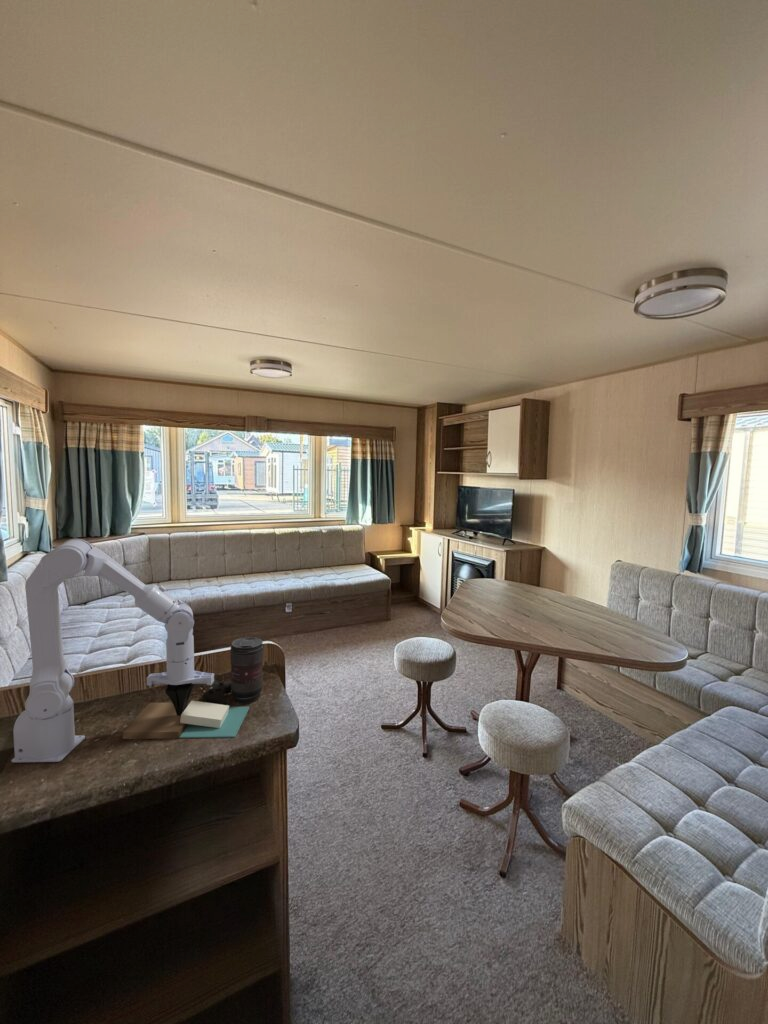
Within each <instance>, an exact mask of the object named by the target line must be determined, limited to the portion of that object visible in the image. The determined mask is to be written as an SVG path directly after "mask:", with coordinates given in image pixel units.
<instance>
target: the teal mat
mask: <svg viewBox="0 0 768 1024" xmlns="http://www.w3.org/2000/svg"><path fill="white" fill-rule="evenodd" d="M249 709H250V706H229V711H228V715H227V716H226V718H225V720H224V722H223V724H222V725H221V727H220V728H215V727H207V726H200V725H192V724H188V726H187V727H186V729H185V730H184V731H183V733H182V734H181V736H180V737H179V739H206V738H207V739H216V738H217V739H223V738H226V739H231V738H232V739H233V738H236V737H237V735H238V732H239V730H240V728H241V726H242V724H243V722H244V721H245V718H246V716H247V714H248V712H249Z"/></svg>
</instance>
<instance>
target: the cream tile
mask: <svg viewBox="0 0 768 1024" xmlns="http://www.w3.org/2000/svg"><path fill="white" fill-rule="evenodd" d="M229 707H230V705H228V704H227V705H221V704H214V703H206V702H204V701H199V700H191V701H190V703H189V705H188V706H187V707H186V709H185V710H184V711H183V713H182V714H181V719H180V723H185V724H192V725H200V726H207V727H215V728H220V727H221V725H222V724H223V722H224V720H225V718H226V716H227V715H228V711H229Z"/></svg>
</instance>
